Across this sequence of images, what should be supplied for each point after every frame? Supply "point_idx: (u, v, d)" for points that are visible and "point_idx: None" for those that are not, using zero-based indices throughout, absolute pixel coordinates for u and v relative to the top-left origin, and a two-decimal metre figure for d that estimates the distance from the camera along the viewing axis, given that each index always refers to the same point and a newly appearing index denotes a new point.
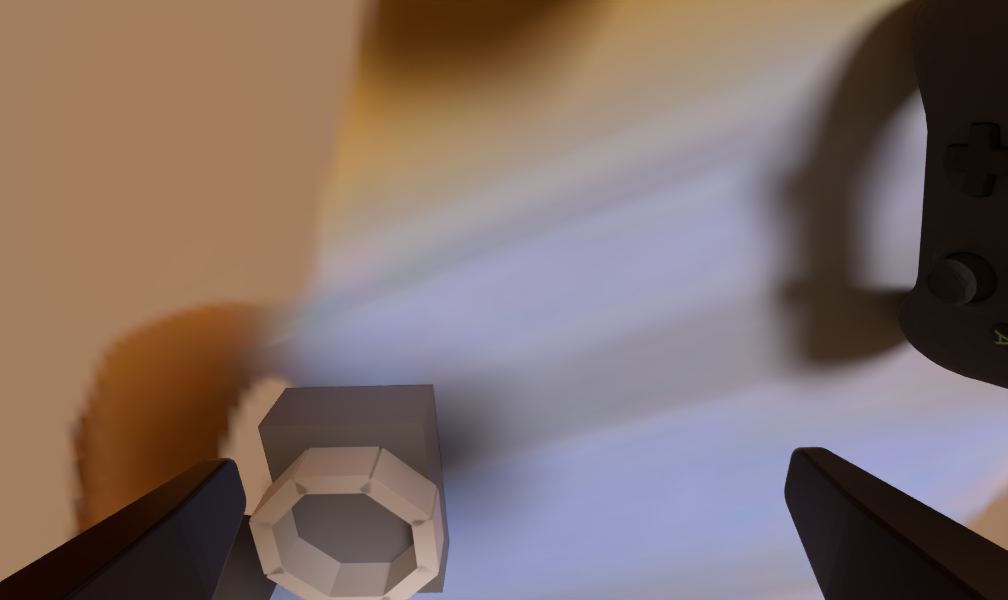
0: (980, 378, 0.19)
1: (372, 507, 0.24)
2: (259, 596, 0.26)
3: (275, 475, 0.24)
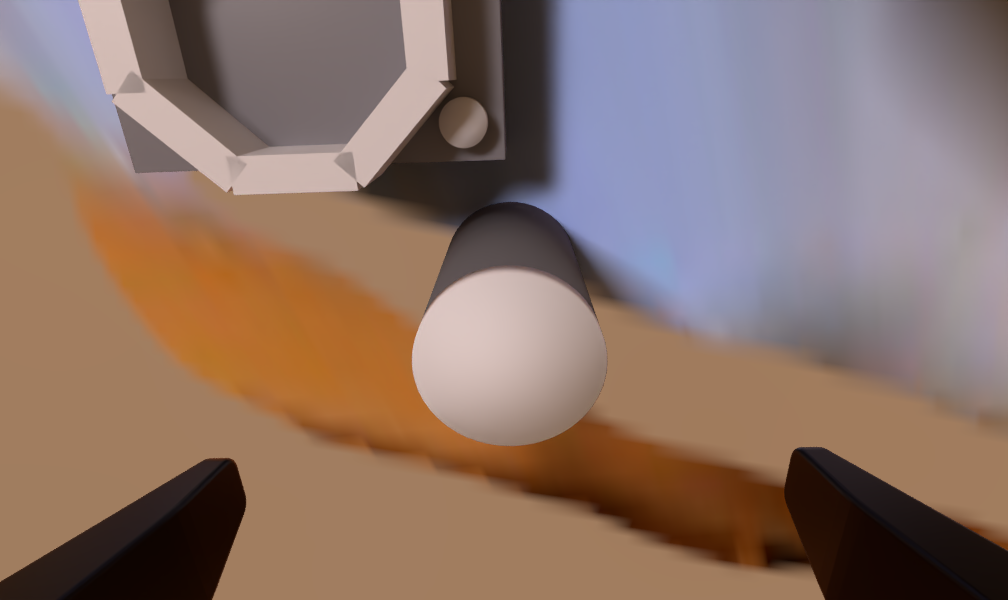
0: None
1: None
2: (492, 231, 0.15)
3: None
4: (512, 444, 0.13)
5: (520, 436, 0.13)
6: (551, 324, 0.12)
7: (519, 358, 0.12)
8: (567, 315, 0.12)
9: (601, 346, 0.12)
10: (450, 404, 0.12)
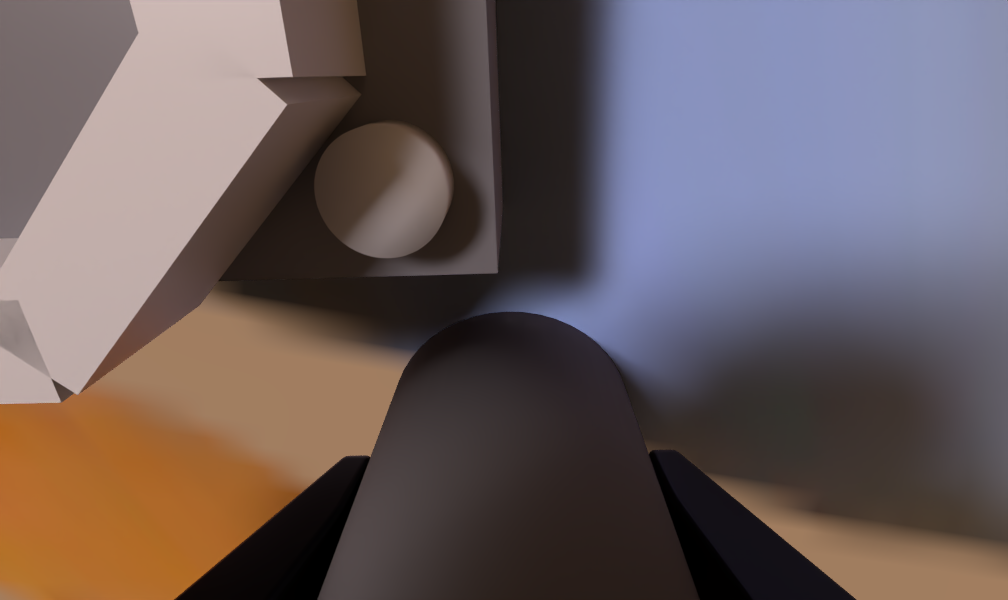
0: None
1: None
2: (467, 440, 0.06)
3: None
4: None
5: None
6: None
7: None
8: None
9: None
10: None
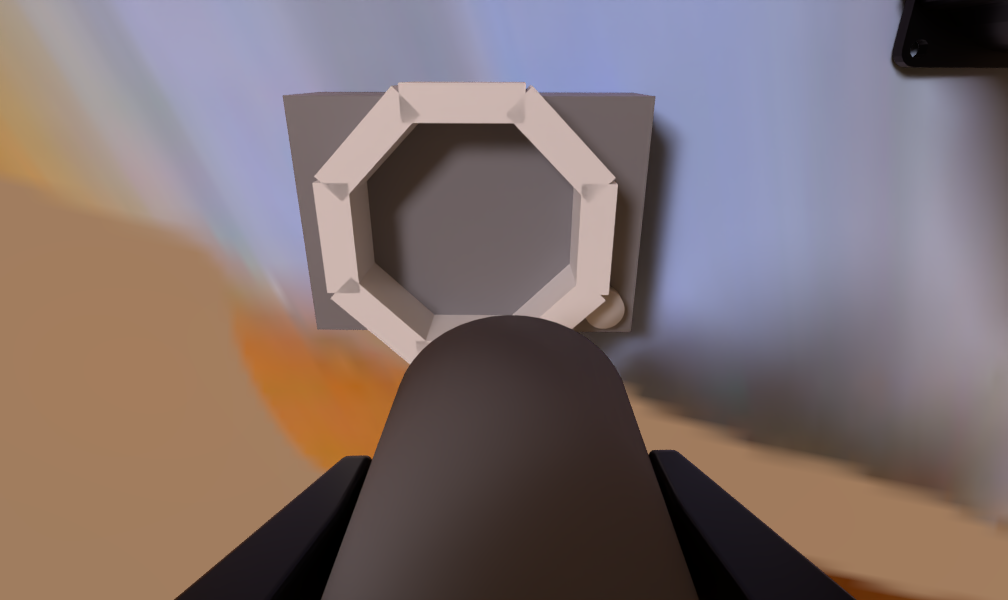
0: None
1: (453, 196, 0.15)
2: (468, 445, 0.06)
3: None
4: None
5: None
6: None
7: None
8: None
9: None
10: None
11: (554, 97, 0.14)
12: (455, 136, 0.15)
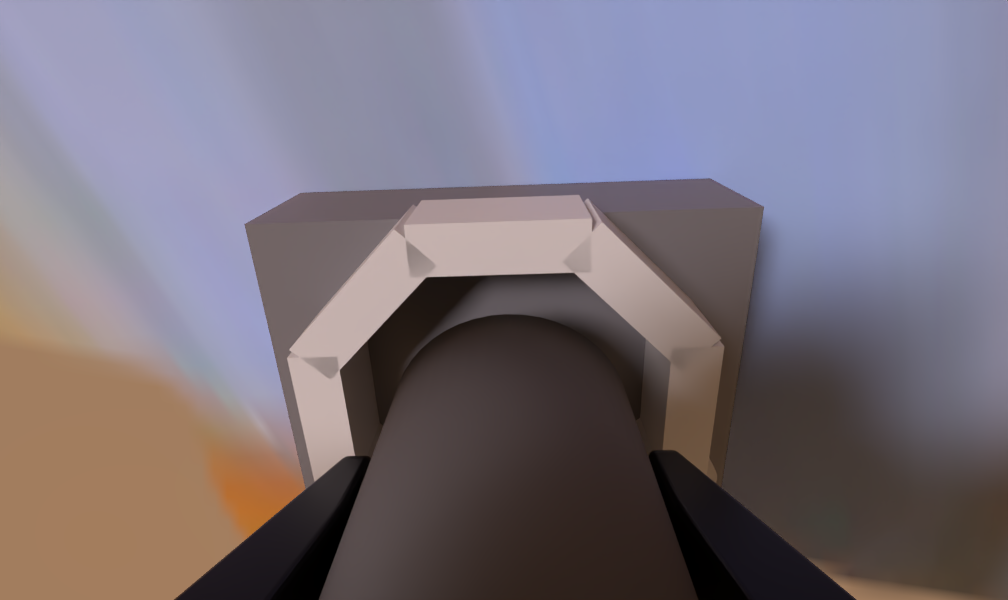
0: None
1: None
2: (467, 444, 0.06)
3: None
4: None
5: None
6: None
7: None
8: None
9: None
10: None
11: (621, 213, 0.10)
12: None
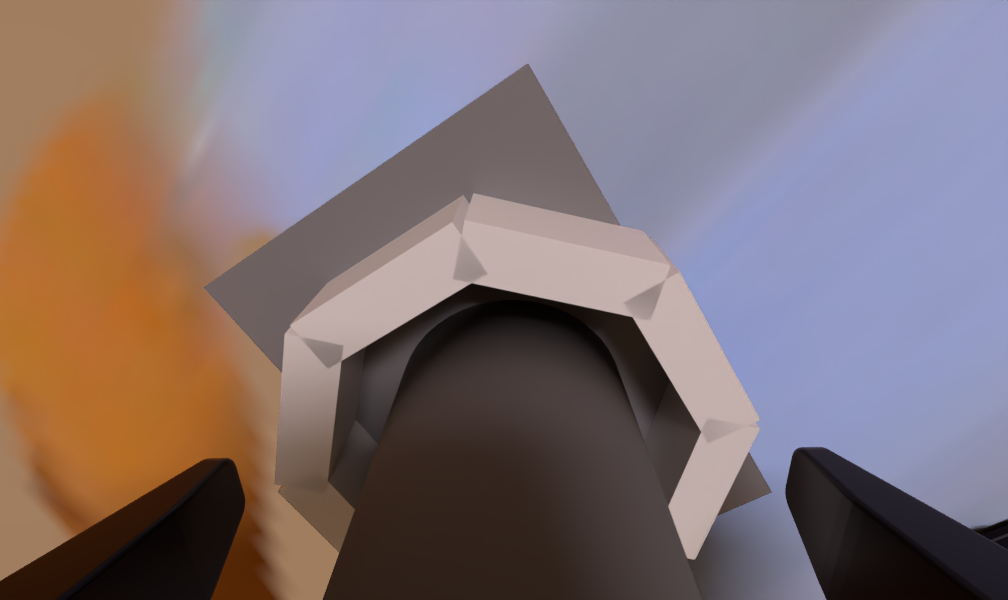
0: None
1: None
2: (473, 411, 0.07)
3: None
4: None
5: None
6: None
7: None
8: None
9: None
10: None
11: None
12: (609, 324, 0.10)
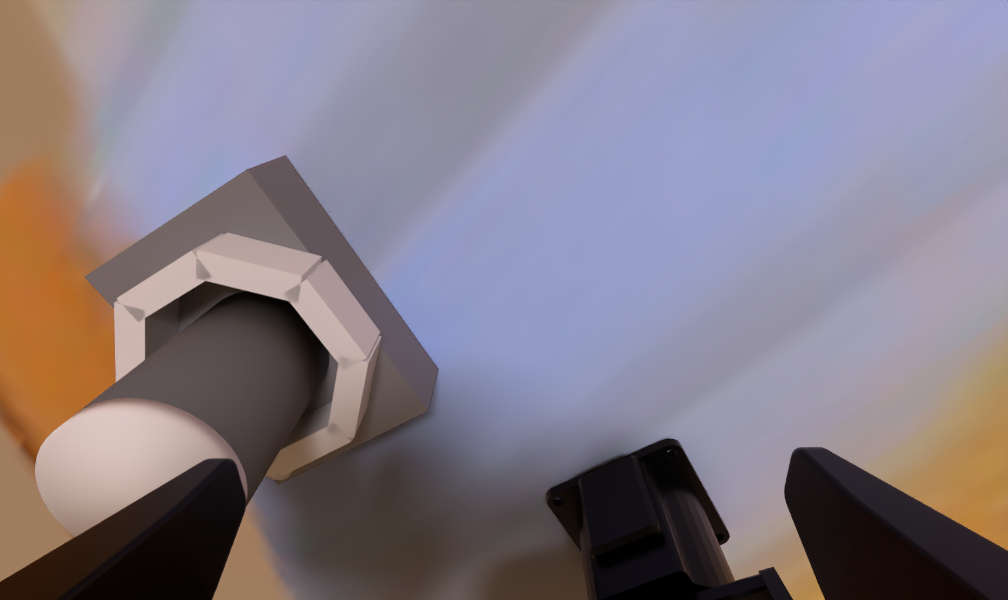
0: None
1: None
2: (184, 339, 0.15)
3: None
4: None
5: None
6: (168, 459, 0.12)
7: (145, 487, 0.12)
8: (181, 451, 0.12)
9: None
10: (88, 527, 0.13)
11: (384, 355, 0.19)
12: None
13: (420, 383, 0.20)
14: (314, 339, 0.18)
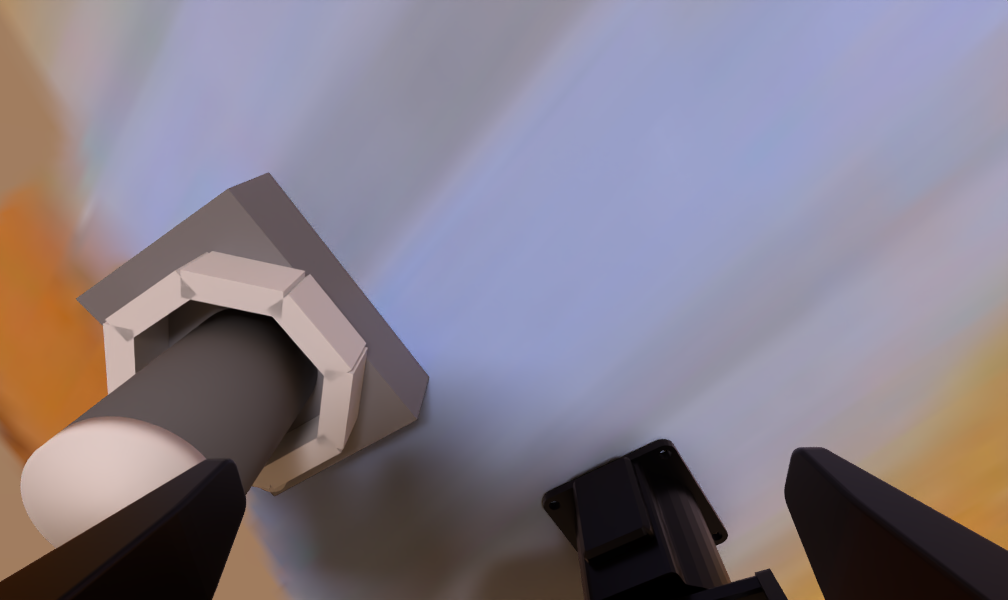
0: None
1: None
2: (167, 357, 0.15)
3: None
4: None
5: None
6: (146, 475, 0.12)
7: (125, 503, 0.12)
8: (158, 467, 0.12)
9: None
10: None
11: (371, 366, 0.19)
12: None
13: (409, 392, 0.20)
14: (300, 352, 0.18)
